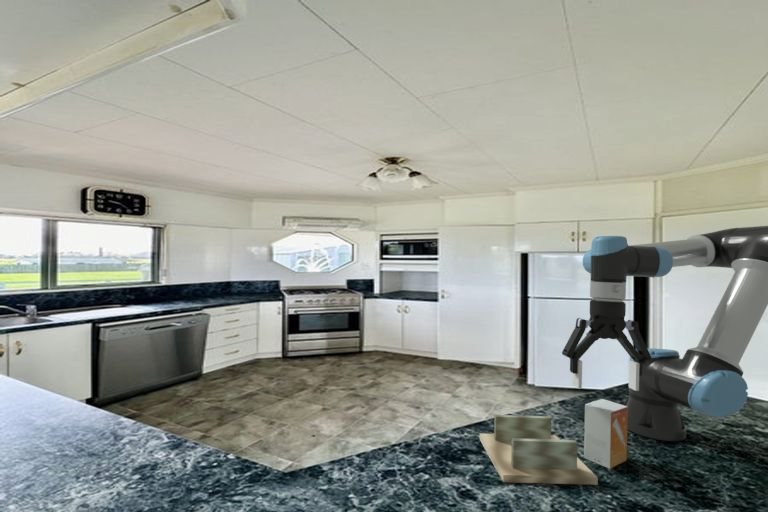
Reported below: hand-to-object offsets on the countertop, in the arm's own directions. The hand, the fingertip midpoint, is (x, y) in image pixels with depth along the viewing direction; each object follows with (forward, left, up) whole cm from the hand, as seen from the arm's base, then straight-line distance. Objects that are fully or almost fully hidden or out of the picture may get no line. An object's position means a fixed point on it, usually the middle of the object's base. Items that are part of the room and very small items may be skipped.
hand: (605, 388), depth 93 cm
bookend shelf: (+18, +1, -17) cm, 25 cm away
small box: (0, 0, -17) cm, 17 cm away
